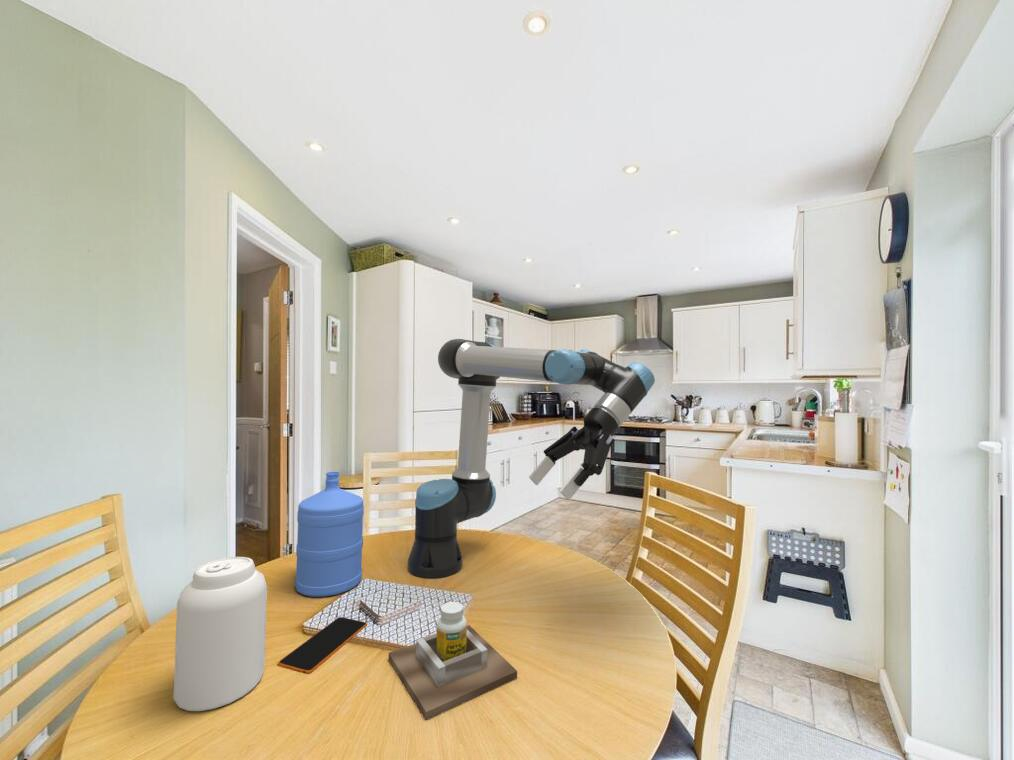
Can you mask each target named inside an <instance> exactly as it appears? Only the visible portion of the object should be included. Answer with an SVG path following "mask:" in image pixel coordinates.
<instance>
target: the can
mask: <svg viewBox="0 0 1014 760" xmlns="http://www.w3.org/2000/svg"><path fill="white" fill-rule="evenodd" d="M267 593H268V586H267V583H266V579H265V575H264V573H262V572H260V571H259V570H257V568H256V565H255V562H254V560H253V559H252V558H250V557H246V556H228V557H223V558H219V559H215V560H212V561H209V562H206V563H204V564H202V565H200V566H199V567H197V568H196V569H195V571H194V572H193V575H192V580H191V581H190V583H188V584H187V585H186V586H185V587H184V588H183V589H181V592H180V593H179V597H178V599H177V603H176V620H175V621H176V622H175V624H176V627H175V648H174V649H175V651H174V674H173V675H174V676H173V677H174V678H173V701H174V703H176V705H177V706H178V708H179V709H182V710H185V711H187V712H203V711H209V710H214V709H218V708H219V707H224V706H226V705H229V704H231V703H233V702H235V701H237V700H238V699H241V698H243V697H244V696H245V695H246V694H248V693H249V692H250V691H251V690H253V689H254V688H255V687H256V686H257V685H258V683H259V682H260V681H261V679H262V677H263V674H264V672H265V663H266V661H265V658H266V656H265V655H266V634H267V632H266V631H267V629H266V627H267V601H268V600H267V598H268V597H267V596H268V595H267Z"/></svg>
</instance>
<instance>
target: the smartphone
mask: <svg viewBox="0 0 1014 760" xmlns="http://www.w3.org/2000/svg"><path fill="white" fill-rule="evenodd" d="M367 626H368V623H367V622H365V621H361V620H357V619H352V618H347V617H343V616H340V617H339V616H338V617H337V618H335V619H334V620H332V621H331V622H330V623H329V624H327V625H326V626H325V627H324V628H322V629H321V630H320V631H319V630H318V632H317V633H315V634H313V636H311V637H310V638H309V639H307V640H306V641H305V642H302V643H301V645H299V646H298V647H297V648H295V649H294V650H292V651H291V652H290V653H288V654H287V655H286V656H284V657H283V658H282V659H280V660H279V661H277V666H278V667H280V668H284V669H287V670H288V669H289V670H292V671H295V672H300V673H303V674H304V673H305V674H306V675H310V674H312V673H313V672H314V671H316V670H317V669H318V668H319V667H320V666H322V665H323V664H324V663H325V662H326V661H327V660H329V659H330V658H331V657H332V656H333V655H335V654H336V652H338V651H339V650H340V649H341V648H342V647H343V646H345V645H346V644H348V642H349V641H351V640H352V639H353V638H355V636H357V635H358V634H359V633H360V632H361V631H363V629H365V628H366V627H367Z"/></svg>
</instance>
